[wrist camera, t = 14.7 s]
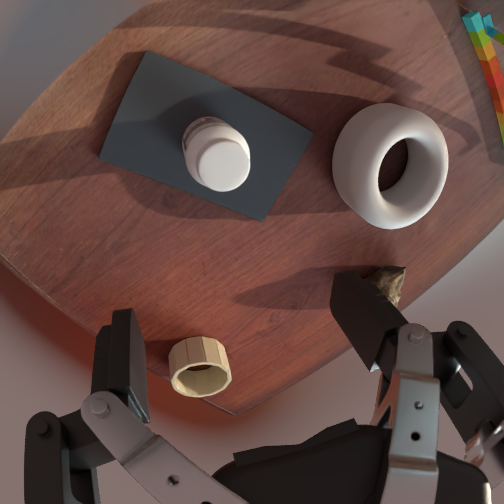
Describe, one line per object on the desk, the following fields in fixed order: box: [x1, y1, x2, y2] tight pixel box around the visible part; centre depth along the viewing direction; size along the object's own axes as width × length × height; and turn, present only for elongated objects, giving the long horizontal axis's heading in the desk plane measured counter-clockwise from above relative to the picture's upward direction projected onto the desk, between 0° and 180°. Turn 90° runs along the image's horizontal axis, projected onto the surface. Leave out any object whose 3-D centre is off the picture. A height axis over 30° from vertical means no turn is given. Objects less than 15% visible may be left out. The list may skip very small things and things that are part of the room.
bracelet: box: [168, 336, 231, 397], centre depth 46 cm, size 9×9×5 cm
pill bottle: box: [182, 117, 250, 192], centre depth 27 cm, size 5×5×10 cm
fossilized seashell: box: [367, 266, 406, 308], centre depth 47 cm, size 8×7×10 cm
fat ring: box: [332, 103, 448, 229], centre depth 35 cm, size 15×15×7 cm
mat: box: [98, 51, 314, 222], centre depth 31 cm, size 20×12×1 cm, turn 61°
